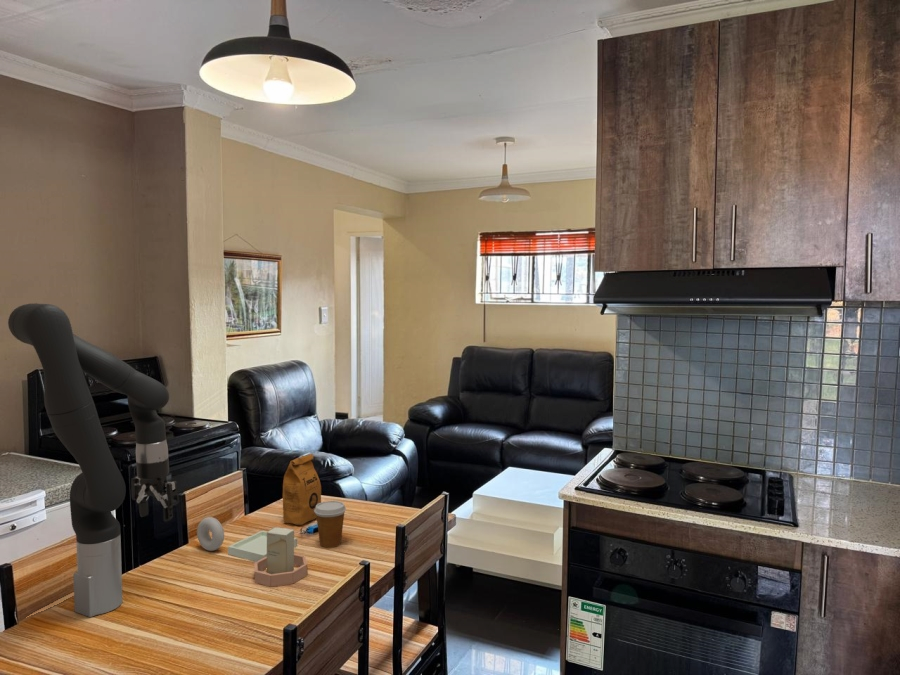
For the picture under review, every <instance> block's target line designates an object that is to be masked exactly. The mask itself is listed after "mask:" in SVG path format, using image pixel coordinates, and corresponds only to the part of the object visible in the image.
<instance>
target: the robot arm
mask: <svg viewBox="0 0 900 675" xmlns="http://www.w3.org/2000/svg"><path fill="white" fill-rule="evenodd" d="M7 320H8V322H7V326H8V329H9V331H10V333H11V334H12V336H13V337H14V338H15V339H16V340H18V341H20V342H21V343H24V344H25V345H26V344H27V345H30V346H31V347H32V346H33V349H34V350H35V353H36V355H37V356H38V360H39V361H40V364H41V367H42V370H43V374H44V388H43V402H44V407H45V410H46V415H47V417H48V419H49V421H50V425H51V427H52V429H53V432H54V434H55V436H56V438H58V440H59V441H60V442H61V444H62V445H63V446H64V447H65V448H66V450H67V451H68V452H69V454H71V455H72V456H73V459H75V461H76V462H77V463H78V465H79V468H80V470H81V473H79V474H78V475H77V476H76V477H75V478H74V480H73V482H72V483H71V486H70V490H69V507H70V510H69V511H70V517H71V518H70V519H71V520H70V521H71V527H72V530H73V532H74V533H75V538H76V568H77V570H76V571H75V572H73V597H74V598H73V600H74V602H73V603H74V605H73V606H74V612H75V613H78V614H80V615H83V616H86V617H88V618H92V617H94V616H97V615H103V614H105V613H109V612H111V611H114V610H115V609H117V608H120V606H121V605H122V603H123V579H122V577H123V576H122V572H123V571H122V570H123V569H122V542H121V539H122V538H121V537H122V536H121V523H120V521H118V519H117V518H116V517H115V516H114V515H113V513H112V512H113V511H115V510H118V509H119V507H120V506H122V504H123V503H124V500H125V499H126V498H125V497H126V492H127V490H126V489H127V488H126V483H125V480H124V477H123V475H122V473H121V471H120V469H119V468H118V464H117V463H116V461H115V459H114V456H113V455H112V452H111V450H110V448H109V444H108V442H107V439H106V435H105V432H104V429H103V428H102V425H101V421H100V418H99V414H98V411H97V408H96V405H95V401H94V399H93V397H92V393H91V392H90V389H89V386H88V383H87V379H86V377H85V375H88V376H89V377H90V378H92V379H94V380H95V381H97V382H98V383H100V384H102V385H104V386H105V387H107V388H109V389H110V390H111V391H113V392H116V393H119V394H122V395H125V396H127V405H128V409H129V412H130V415H131V418H132V422H133V424H134V427H135V445H136V446H135V461H136V462H135V464H136V476H135V477H131V478H130V482H131V483H130V486H131V487H130V489H131V490H130V491H131V492H130V493H131V499H132V501H136V503H137V504H138V512H139V516H140V517H141V518H143V517H147V516H148V515H150V514H149V513H150V512H149V501H148V500H149V498H150V497H152V498H156V500H157V501H158V502H160V503H161V505H162V507H163V508H162V513H163V514H162V518H163V522H169V521H171V520H172V519H173V517H174V507H173V506H174V505H175V506H176V505H177V504H179V503H180V498H179V489H178V481H176V480H173V481H168V478H167V476H168V475H169V474H170V465H169V464H170V462H169V461H170V460H169V449H168V447H169V446H168V443H167V432H166V422H165V420H164V419H163V417H161V416H159V415H158V412H157V411H158V410H160V409H163V408H165V407H166V406H167V404H168V403H169V400H170V392H169V390H168V389H167V387H166V386H165V385H164V384H163V383H162V382H160V381H158V380H156V379H154V378H152V377H151V376H148V375H147V374H145V373H142V372H140V371H138V370H136V369H135V368H134V367H133V366H131V365H130V364H128V363H127V362H125V361H124V360H122V359H120V357H118V356H116V355H115V354H113V353H111V352H109V351H107V350H105V349H103V348H100V347H99V346H97V345H94V344H92V343H90V342H88V341H86V340H84V339H82V338H81V337H80V336H77V335H76V334H74V332H73V328H72V325H71V321H70V317H68V314H67V313H66V312H65V311H64V310H63V309H62V308H60V307H59V306H57V305H54V304H50V303H37V302H35V303H26V304H22V305H19V306H17V307H16V308H15V309H14V310H12V311H11V312H10V314H9V317H8V319H7Z"/></svg>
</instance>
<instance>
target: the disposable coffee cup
mask: <svg viewBox="0 0 900 675" xmlns="http://www.w3.org/2000/svg"><path fill="white" fill-rule="evenodd" d="M346 510H347V508H346V506H345V503H344V502H342V501H339V500H327V501H326V500H325V501H321V503H319V504H317V505H316V508H315V510H314V512H315V514H316V518H315V519H316V523H317V524H316V525H317V530H318V538H319V539H318V540H319V546H320V547H322V548H326V549H327V548H328V549H329V548H335V547H338V546H340V545H341V544H342V537H343V526H344V520H345V512H346Z"/></svg>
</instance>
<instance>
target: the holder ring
mask: <svg viewBox="0 0 900 675" xmlns="http://www.w3.org/2000/svg"><path fill="white" fill-rule="evenodd" d="M253 565H254V566H253V567H254V583H256V584H258V583H259V585H263V586H266V587H270V588H273V587H280V586H287V585H293V584H295V583H297V582H298V581H300V580H301V579H304V578H305V577H307V576H308V562H307V558H306V556H305V555H302V554H298V553H294V566H295V565H296V566H295V567H297V568H294V570H293V571H292V572H284V573H277V574H269V573H267V572H265V570H267V569H266V568H267V556H266V557H264V558H262V559H261V560H259V561H257V562H255V561H254V564H253ZM299 566H300V567H299Z"/></svg>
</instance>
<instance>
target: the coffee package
mask: <svg viewBox="0 0 900 675" xmlns="http://www.w3.org/2000/svg"><path fill="white" fill-rule="evenodd" d="M312 460H314V455H313V453H309V454H307V455H303V456H301V457H297V458H295V459H293V460H290V462H289V464H288V466H287V469H286V471H285V473H284V475H283V482H282V518H283V524H294V525H304V524H306V523H308V522H310V521H313V520H315V519H317V518H316V514H315V512H314V510H315V508H316V505H317V504H319V503H321V502H322V484H321V479H320V478H319V475H318V472H317V471H316V469H315V467H314V463H313V462H312Z"/></svg>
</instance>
